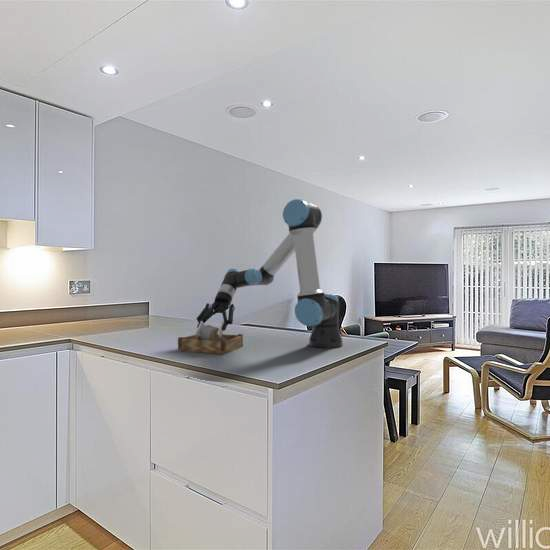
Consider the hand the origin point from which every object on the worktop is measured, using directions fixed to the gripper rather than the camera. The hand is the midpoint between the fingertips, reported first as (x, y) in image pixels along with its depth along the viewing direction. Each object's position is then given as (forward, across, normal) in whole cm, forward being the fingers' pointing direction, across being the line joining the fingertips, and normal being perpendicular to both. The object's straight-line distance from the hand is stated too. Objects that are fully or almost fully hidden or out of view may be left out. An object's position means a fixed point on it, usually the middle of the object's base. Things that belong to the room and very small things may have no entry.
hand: (208, 335), depth 170 cm
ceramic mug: (0, -1, -6) cm, 6 cm away
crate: (+2, 0, -7) cm, 7 cm away
